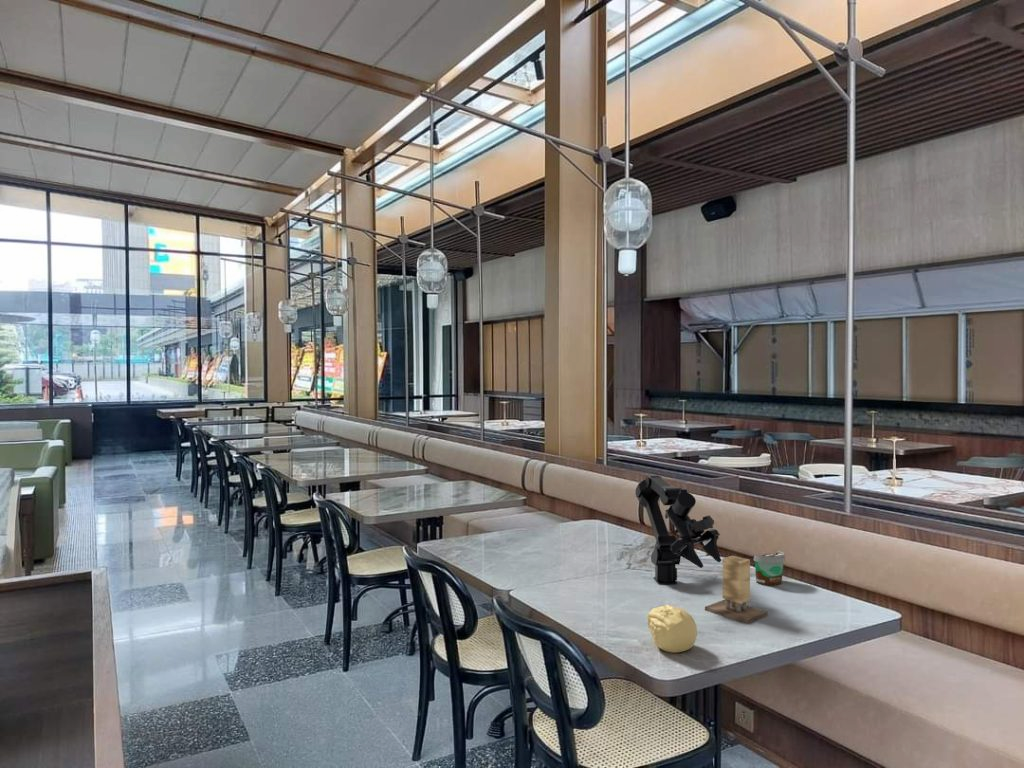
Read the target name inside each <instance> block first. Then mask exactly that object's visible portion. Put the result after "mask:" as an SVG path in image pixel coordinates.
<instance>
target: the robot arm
mask: <svg viewBox="0 0 1024 768" xmlns="http://www.w3.org/2000/svg"><path fill="white" fill-rule="evenodd" d="M635 497H636V498H637V500H638V503H639V504H640V505H641V506H642V507H644V508H645V510H646V512H647V516H648V518H649V521H650V525H651V529H652V532H653V534H654V539H655V544H654V547H653V550H652V552H651V554H650V561H651V563H652V564H653V565H654V571H655V572H654V577H653V579H654V581H655V582H656V583H657V584H658V585H677V584H678V582H677V580H678V569H677V567H676V565H678V566H680V563H681V560H682V559H681V557H682V558H683V559H685V560H687V561H688V562H690V563H692V564H694V565H696V566H697V567H698V568H700V569H702V568H703V567H704V564H703V562H702V560H701V559H700V557H699V556H698V554H697V551H696V550H695V545H696V544H700V546H702V549H703V550H704V551H705V552H706V553H707V554H709V556H710V557H712V559H714V560H715V561H716V562H717V563H721V561H722V559H721V556H720V552H719V548H718V545H717V543H718V539H719V537H720V535H721V534H720V533H719V530H717V529H715V528H714V524H715V520H714V519H713V518H712V517H711V516H710V515H706V516H702V519H700V520H698V521H697V520H696V519H695V518H693V519H691V517H690V516H689V514H690V513H691V512H692V510H693V508H694V507H695V505H696V501H697V500H696V497H695V496H694V495H693V494H691V493H690V492H688V489H684V488H682V487H679V486H674V485H670V484H669V483H668V482H667V481H666V480H664V479H663V478H662V476H660V475H648V476H646V477H645V479H644V480H641V481H640V482H639V483H638V484H637V485H636V488H635ZM659 501H660V502H661V504H663V506H664V507H665V506H667V507H668V506H669V508H668V509H666V510H664V511H665V514H664V516H663V514H662V510H661V507H660V504H659ZM664 517H665V519H669V520H670V522H671V524H672V525H673V526H674V528H675V530H674V533H675V534H679V535H680V537H678V538H677V537H676V536H675V535H670V533H669V530H668V527H667V524H666V522H665V519H664Z"/></svg>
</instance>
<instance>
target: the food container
mask: <svg viewBox="0 0 1024 768" xmlns="http://www.w3.org/2000/svg"><path fill="white" fill-rule="evenodd" d="M753 561H754V566H755V567H754V568H755V581H756V584H757V583H758V584H757V585H760V586H761V585H762V586H768V587H777V586H780V585H782V584H783V583H782V580H783V572H784V571H783V570H784V563H785V562H786V555H785V553H784V552H783V551H781V550H777V552H775V553H765V554H763V555H762V554H761V555H758V554H754V556H753Z"/></svg>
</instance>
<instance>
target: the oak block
mask: <svg viewBox="0 0 1024 768" xmlns="http://www.w3.org/2000/svg"><path fill="white" fill-rule="evenodd" d="M721 590H722V593H721V594H722V600H725V599H727V600H730V601H733V602H736V603H740V604H742V603H744V602H746V603H747V602H749V601H750V600H751V559H749V558H743V557H740V556H736V555H729V556H726V557H722V589H721Z"/></svg>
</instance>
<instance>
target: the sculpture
mask: <svg viewBox="0 0 1024 768" xmlns="http://www.w3.org/2000/svg"><path fill="white" fill-rule="evenodd" d="M646 616H647V617H646V618H647V627H648V629H649V631H650V634H651V637H652V641H653V643H654V644H655V646H656V647H658V648H659V649H661V650H662V651H665V652H668V653H672V654H673V653H676V654H677V653H682V652H685V651H688V650H689V649H691V648H692V647H693V646H694V645H695V644H696V640H697V636H698V629H697V628H698V627H697V624H696V621H695V619H694V618H693V616H692V614H690V613H689V612H688V611H687V610H686V609H684V608H681V607H677V606H672V605H671V604H666V605H661V606H657V607H656V606H655V607H654V608H651V610H650V611H649V612H648V613H647V615H646Z"/></svg>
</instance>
